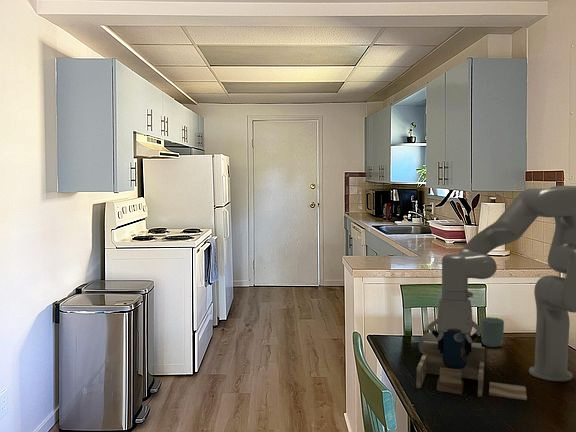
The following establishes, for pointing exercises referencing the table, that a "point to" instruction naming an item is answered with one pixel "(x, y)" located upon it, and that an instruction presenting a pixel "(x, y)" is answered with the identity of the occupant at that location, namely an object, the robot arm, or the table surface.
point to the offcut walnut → (450, 387)
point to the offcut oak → (450, 375)
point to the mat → (507, 391)
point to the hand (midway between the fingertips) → (454, 352)
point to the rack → (434, 362)
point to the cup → (492, 331)
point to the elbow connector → (432, 338)
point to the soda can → (454, 349)
